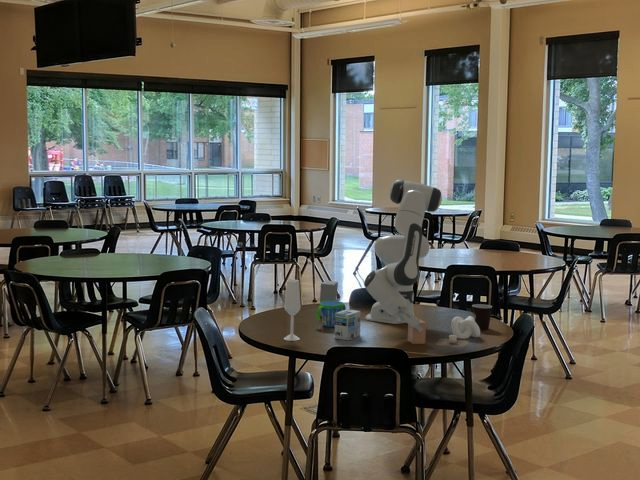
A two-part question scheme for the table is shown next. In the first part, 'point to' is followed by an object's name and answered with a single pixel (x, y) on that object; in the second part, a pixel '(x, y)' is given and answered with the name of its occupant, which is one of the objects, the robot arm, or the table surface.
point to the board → (446, 343)
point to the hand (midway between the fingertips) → (418, 328)
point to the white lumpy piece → (465, 327)
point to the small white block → (453, 339)
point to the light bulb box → (347, 324)
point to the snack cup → (329, 312)
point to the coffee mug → (482, 315)
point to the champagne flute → (292, 304)
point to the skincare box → (328, 291)
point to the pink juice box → (417, 333)
